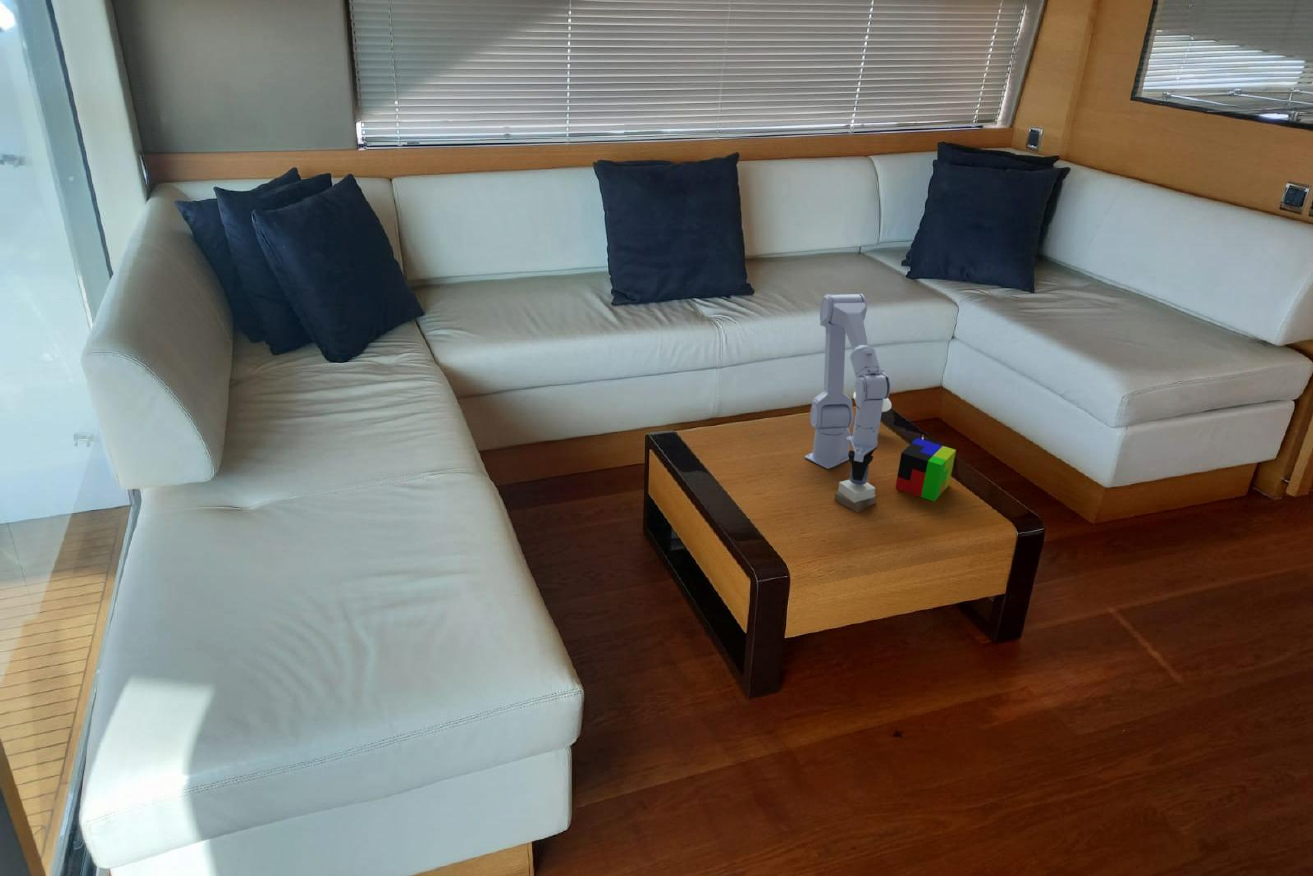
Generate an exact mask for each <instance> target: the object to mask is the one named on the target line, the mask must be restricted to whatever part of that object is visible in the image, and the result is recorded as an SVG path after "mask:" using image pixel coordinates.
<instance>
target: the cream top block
mask: <svg viewBox="0 0 1313 876" xmlns="http://www.w3.org/2000/svg"><path fill="white" fill-rule="evenodd" d="M838 491H839V492H840V493H841V494H843V495H844V496H846V497H847V498H848V499H850V500H851V501H853V502H854V503H855V502H859V501H862V500H866V499H869V498H873V497H874V495H876V493H875V492H876V487H875V486H873V485H872V484H870V483H869V482H867V483H866V484H863V485H857V484H854V483H852V482H850V478H849V479H846V480H843V481H839V483H838V490H837V492H838Z"/></svg>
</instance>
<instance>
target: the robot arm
mask: <svg viewBox="0 0 1313 876" xmlns="http://www.w3.org/2000/svg"><path fill="white" fill-rule="evenodd" d="M867 311H868V302H867V299H866V297H865V295H864V294H863V293H860V292H859V293H857V294H855V293H852V294H850V293H848V294H846V293H844V294H829V293H827V294H825V295H824V296H823V297H822V299H821V301H820V308H819V312H820V313H819V321H820V322H819V324H820V327H821V326H822V327H824V328H825V340H824V341H825V343H824V344H825V345H824V346H825V347H824V368H823V369H824V371H823V372H824V374H823V376H824V377H823V390H822V392H820V393H819V394H817V395H816V396H815V397H814V398H812V402H811V408H810V410H809V411H810V413H809V420H810V424H811V426H812V428H813V429H815V431H814V439H813V447H812V452H810V453H809V454H807V455H805V456H804V458H805V459H806V460H808V461H811V462H812V463H815V464H817V465H818V466H821V467H823V468H825V469H828V470H829V469H833V468H834V467H836V466H839V465H841V464H842V463H844V462H847V461H849V462H850V465H851V466H852V476H853V479H854V480H859V481H862V479H863V477H864V474H865V471H866V468H867V466H868V465H869V466H870V464H871V463H872V461H873V460H874V457H875V456H874V455H873V454H874V452H875V451H876V449H877V448H878V444H879V442H878V437H879V431H880V425H881V418H882V413H883V412H882V407H883V399H887V398H888V399H889V396H890V393H891V382H890V377H889V375H888V374H887V373H885V371H884V370H883V369H881V366H880V363H879V360H878V357H877V354H876V351H875V348H873V347H871V346H869V343H868V339H867V331H866V328H865V319H866V315H867ZM846 336H847V339H848V341H849V344H850V347H851V349H852V352H851V353H850V356H849V358H850V362H851V365H852V368H853V372H854V375H855V378H856V379H855V380H856V381H855V382H854V392H855V393H856V397H855V399H854V401H855V402H854V403H855V404H856V407H855V409H856V410H855V412H854V410H853V400H852V399H851V398H850V396H848V395H847V394H846V393H844V388H845V387H844V385H845V384H844V381H845V363H846V362H845V359H846V357H845V356H846ZM854 413H855V415H854ZM852 425H853V429H852V433H851V430H850V428H851V427H852ZM850 447H851V448H852V450H850Z"/></svg>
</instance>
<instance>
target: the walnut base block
mask: <svg viewBox="0 0 1313 876" xmlns="http://www.w3.org/2000/svg"><path fill="white" fill-rule="evenodd" d="M877 498H878V495H876V494H875V495H874V497H873V498H869V499H866V500H862V501H859V502H855V503H854V502H853V501H851V500H850V499H848V498H847V497H846V496H844V495H843V494H841V493H840V492H839V491H838V490H837V492H834V501H835V502H837V503H839V504H841V505H842V506H844V505H845V507H847V508H848V509H850V508H851V509H850V510H851V511H854V512H856V513H859V512H862V511H863V510H865V509H867V508H868V507H870V506H873V505H874V504H876V503H877Z"/></svg>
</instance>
